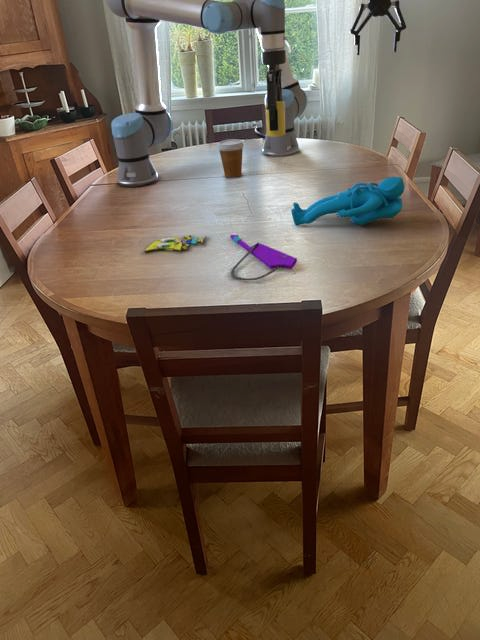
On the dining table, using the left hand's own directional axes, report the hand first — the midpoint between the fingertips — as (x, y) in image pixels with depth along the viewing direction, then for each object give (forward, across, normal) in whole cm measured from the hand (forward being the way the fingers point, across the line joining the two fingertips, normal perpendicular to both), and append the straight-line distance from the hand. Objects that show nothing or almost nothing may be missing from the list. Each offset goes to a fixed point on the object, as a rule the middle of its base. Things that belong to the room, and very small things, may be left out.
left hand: (275, 127), depth 162 cm
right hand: (-16, +46, -31) cm, 58 cm away
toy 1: (+18, -56, +18) cm, 62 cm away
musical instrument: (+18, -64, -5) cm, 67 cm away
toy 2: (+18, -39, -26) cm, 50 cm away
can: (+2, 0, 0) cm, 2 cm away
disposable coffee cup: (+18, +6, +18) cm, 26 cm away
